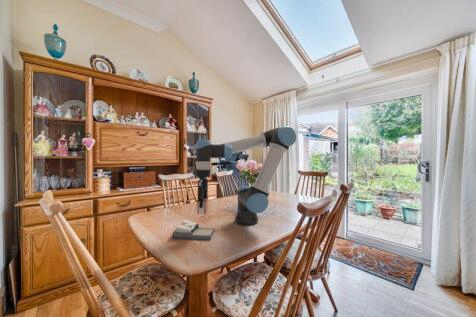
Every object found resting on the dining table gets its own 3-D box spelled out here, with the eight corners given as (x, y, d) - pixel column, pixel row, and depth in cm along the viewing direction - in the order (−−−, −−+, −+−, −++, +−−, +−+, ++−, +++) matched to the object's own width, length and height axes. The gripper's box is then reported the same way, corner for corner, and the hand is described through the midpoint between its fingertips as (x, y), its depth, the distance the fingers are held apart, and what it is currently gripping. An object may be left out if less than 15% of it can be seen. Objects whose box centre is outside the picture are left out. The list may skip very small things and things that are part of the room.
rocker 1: (190, 232, 107) (191, 228, 107) (189, 235, 104) (190, 230, 104) (178, 229, 107) (179, 224, 107) (176, 231, 104) (177, 226, 104)
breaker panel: (215, 230, 115) (215, 224, 115) (210, 240, 102) (210, 234, 102) (181, 229, 116) (181, 223, 116) (172, 238, 103) (172, 232, 103)
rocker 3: (194, 227, 111) (193, 222, 111) (192, 229, 108) (191, 224, 108) (181, 229, 111) (181, 224, 111) (179, 231, 108) (179, 226, 108)
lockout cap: (208, 211, 111) (208, 198, 111) (205, 214, 106) (206, 201, 106) (199, 210, 111) (199, 198, 111) (196, 213, 106) (196, 200, 106)
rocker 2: (195, 227, 115) (196, 223, 115) (193, 229, 112) (194, 224, 112) (183, 224, 115) (184, 219, 115) (181, 225, 112) (182, 221, 112)
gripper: (200, 167, 117) (200, 207, 118) (191, 170, 99) (190, 217, 100) (213, 168, 117) (212, 207, 117) (206, 170, 99) (205, 217, 99)
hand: (202, 212), depth 108 cm, fingers closed on lockout cap, 5 cm apart
